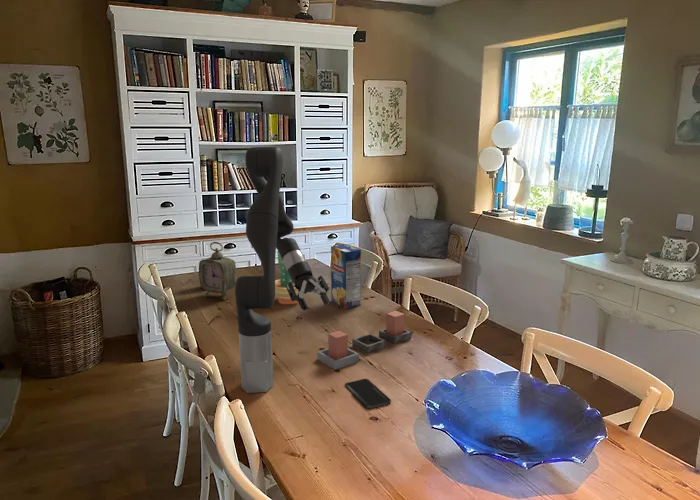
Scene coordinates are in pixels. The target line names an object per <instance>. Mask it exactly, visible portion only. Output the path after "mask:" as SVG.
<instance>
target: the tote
mask: <svg viewBox="0 0 700 500" xmlns="http://www.w3.org/2000/svg"><path fill="white" fill-rule="evenodd" d="M317 360H318V361H319V362H320V363H323V364H324V365H326V366H329V367H330V368H331V369H333V370H335V371H336V370H339V369H341V368H344V367H347V366H350V365H352V364H355V363H358V362H360V353H359V352H356V351H355V350H353V349H351V348H349V347H348V356H347V357H344V358H341V359H338V360H334V359H332V358H331V357H329V347H328V348H325V349H321V350H319V351H317Z"/></svg>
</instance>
